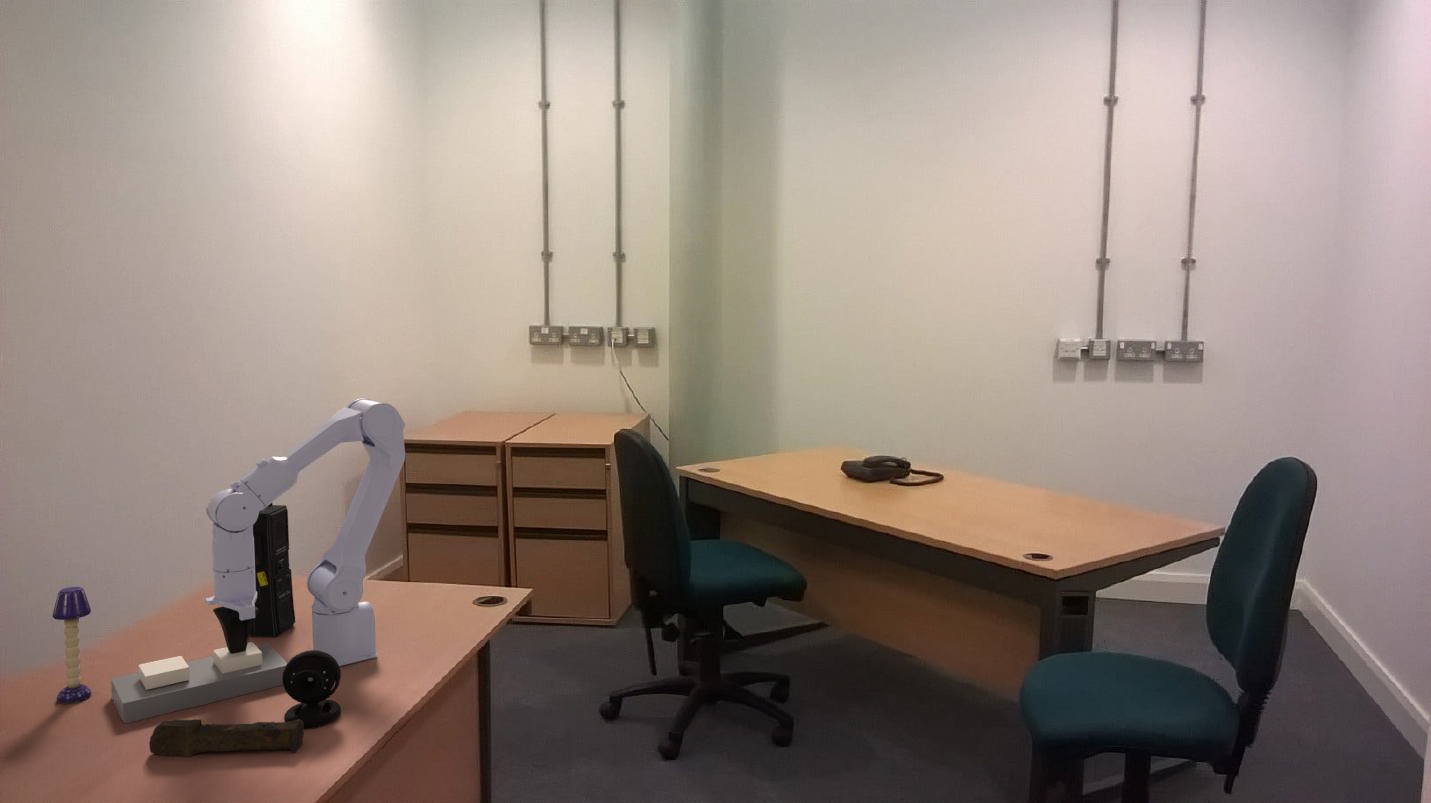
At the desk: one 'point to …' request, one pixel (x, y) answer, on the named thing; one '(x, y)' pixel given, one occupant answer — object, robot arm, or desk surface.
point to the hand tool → (224, 737)
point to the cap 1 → (163, 672)
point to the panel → (195, 687)
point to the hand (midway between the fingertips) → (237, 651)
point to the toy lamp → (72, 640)
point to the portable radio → (272, 573)
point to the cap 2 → (237, 658)
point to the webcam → (312, 688)
